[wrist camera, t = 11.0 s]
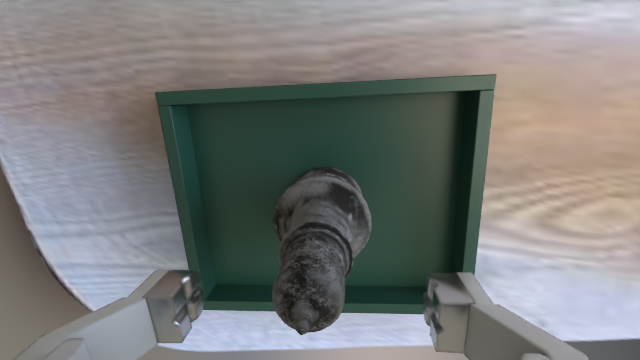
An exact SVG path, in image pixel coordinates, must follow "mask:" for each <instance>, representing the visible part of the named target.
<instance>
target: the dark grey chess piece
mask: <svg viewBox="0 0 640 360" xmlns="http://www.w3.org/2000/svg"><path fill="white" fill-rule="evenodd" d="M273 223H274V230H275V234H276V236H277V238H278V241H279V243H280V246H279V253H278V258H279V264H280V269H279V272H278V274H277V277H276V279H275V282H274V285H273V292H272V300H273V306H274V308H275V310H276V312H277V314H278V315H279V317H280V318H281V319H282V320H283V322H284V323H285V324H287V325H288V326H289V327H291V328H293V329H295V330H296V331H297V332H298V333H299V334H300V335H303V334H305V333H307V332H316V331H320V330H322V329H324V328H326V327H328V326H330V325H332V324H333V323H334V322H335V321H336V320H337V319H338V317H339V315H340V313H341V311H342V309H343V305H344V300H345V279H346V278H347V277H348V275H349V273H350V271H351V269H352V265H353V258H355V257H356V256H357V255H358V254H359V253H360V252H361V251H362V250H363V248H364V247H365V245H366V243H367V241H368V240H369V236H370V232H371V228H372V224H371V213H370V211H369V208H368V205H367V202H366V201H365V200H364V198H363V196H362V193H361V190H360V187H359V186H358V184H357V183H356V181H355V180H354V179H353V178H352V177H351V176H349V175H348V174H347V173H345V172H343V171H341V170H339V169H336V168H331V167H319V168H315V169H312V170H309V171H307V172H305V173H304V174H303V175H301V176H300V177H299V178H298V179H297V180H296V182H295V183H294V184H293V185H292V186H290V187H289V188H287V190H286V191H285V192H284V193H283V194H282V196H281V197H280V198H279V200H278V203H277V205H276V207H275V210H274V218H273Z"/></svg>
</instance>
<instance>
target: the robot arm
mask: <svg viewBox="0 0 640 360" xmlns="http://www.w3.org/2000/svg"><path fill="white" fill-rule="evenodd" d="M200 282H201V277H200V273H199V272H197V271H188V270H157V271H155V272H154V273H153V274H152V275H151V276H149V277H148V278H147V279H146V280H145V281H144V282H143V283H142V284H141V285H140V286H139V287H138V288H137V289H136V290H135V291H134V292H133V293H132V294H131V295H129V296H128V297H127V298H121V299H119V300H117V301H115V302H113V303H111V304H108V305H106V306H104V307H102V308H100V309H98V310H96V311H93V312H91V313H89V314H87V315H85V316H83V317H81V318H78V319H76V320H74V321H72V322H70V323H68V324H66V325H63V326H61V327H59V328H57V329H55V330H53V331H50V332H48V333H46V334H44V335H42V336H41V337H39V338H38V339H37V340H36V341H34V342H33V343H32V344H31V345H29V346H28V347H27V348H26V349H25V350H24V351H22V352H21V353H20V354H18V355H17V356H16V357H15V358H13V359H12V360H138V359H139V358H141V357H142V356H143V355H145V354H146V353H147V352H148V351H150V350H151V349H152V348H153V347H155V346H156V345H158V343H182V342H183V341H184V339H185V338H186V336H187V334H188V333H189V331H190V330H191V328H192V326H191V322H193V321H194V320H196V319H197V318H198V317H199V316H200V314H201V313H202V310H203V306H204V291H203V290H202V289H201V288H200V287H199V284H200ZM423 284H424V286H425V289H426V291H425V293H424V294H423V302H422V303H423V313H424V318H425V321H426V324H427V325H429V326H430V336H431V339H432V342H433V345H434V347H435V350H436V352H449V353H464V354H465V356H466V357H467V358H468V359H469V360H589V358H588V357H587V356H586V355H585V354H584V353H582V352H580V351H578V350H576V349H575V348H573V347H571V346H570V345H568V344H566V343H564V342H563V341H561V340H559V339H558V338H556V337H554V336H552V335H551V334H549V333H547V332H545V331H544V330H542V329H540V328H539V327H537V326H535V325H533V324H532V323H530V322H528V321H526V320H525V319H523V318H521V317H520V316H518V315H516V314H514V313H513V312H511V311H509V310H507V309H506V308H504V307H502V306H500V305H495V304H493V302H492V301H491V299H490V298H489V296H488V295H487V293H486V292H485V291H484V289H483V288H482V286H481V285H480V283H479V282H478V280H477V279H476V277H475V276H474V274H473V273H471V272H458V273H425V275H424V282H423Z"/></svg>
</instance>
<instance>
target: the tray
mask: <svg viewBox="0 0 640 360" xmlns="http://www.w3.org/2000/svg"><path fill="white" fill-rule="evenodd" d="M495 81H496V74H490V75H471V76H453V77H434V78H415V79H396V80H377V81H358V82H339V83H320V84H301V85H282V86H263V87H244V88H226V89H207V90H188V91H169V92H155V94H156V99H157V105H158V109H159V114H160V119H161V125H162V130H163V135H164V140H165V146H166V151H167V156H168V161H169V167H170V172H171V177H172V182H173V188H174V193H175V198H176V203H177V209H178V214H179V219H180V224H181V230H182V235H183V240H184V245H185V251H186V256H187V261H188V266H189V271H197V272H199V273H200V277H201V282H200V284H199V287H200V288H201V289H202V290H203V291H204V306H203V310H235V311H276V310H275V308H274V306H273V300H272V292H273V285H274V282H275V279H276V277H277V274H278V272H279V269H280V264H279V258H278V253H279V246H280V243H279V241H278V238H277V236H276V234H275V230H274V223H273V218H274V210H275V207H276V205H277V203H278V200H279V198H280V197H281V196H282V194H283V193H284V192H285V191H286V190H287V188H289V187H290V186H292V185H293V184H294V183H295V182H296V180H297V179H298V178H299V177H300V176H301V175H303V174H304V173H305V172H307V171H309V170H312V169H315V168H319V167H331V168H336V169H339V170H341V171H343V172H345V173H347V174H348V175H349V176H351V177H352V178H353V179H354V180H355V181H356V183H357V184H358V186H359V187H360V190H361V193H362V196H363V198H364V200H365V201H366V202H367V205H368V208H369V211H370V213H371V224H372V228H371V232H370V236H369V240H368V241H367V243H366V245H365V247H364V248H363V250H362V251H361V252H360V253H359V254H358V255H357V256H356V257H355V258H353V265H352V269H351V271H350V273H349V275H348V277H347V278H346V279H345V300H344V305H343V309H342V311H341V313H389V314H424V313H423V303H422V302H423V294H424V293H425V291H426V289H425V286H424V284H423V282H424V275H425V273H458V272H471V273H473V274H474V273H475V264H476V255H477V246H478V237H479V227H480V218H481V209H482V200H483V191H484V181H485V172H486V163H487V154H488V144H489V135H490V126H491V117H492V108H493V98H494V89H495Z"/></svg>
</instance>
